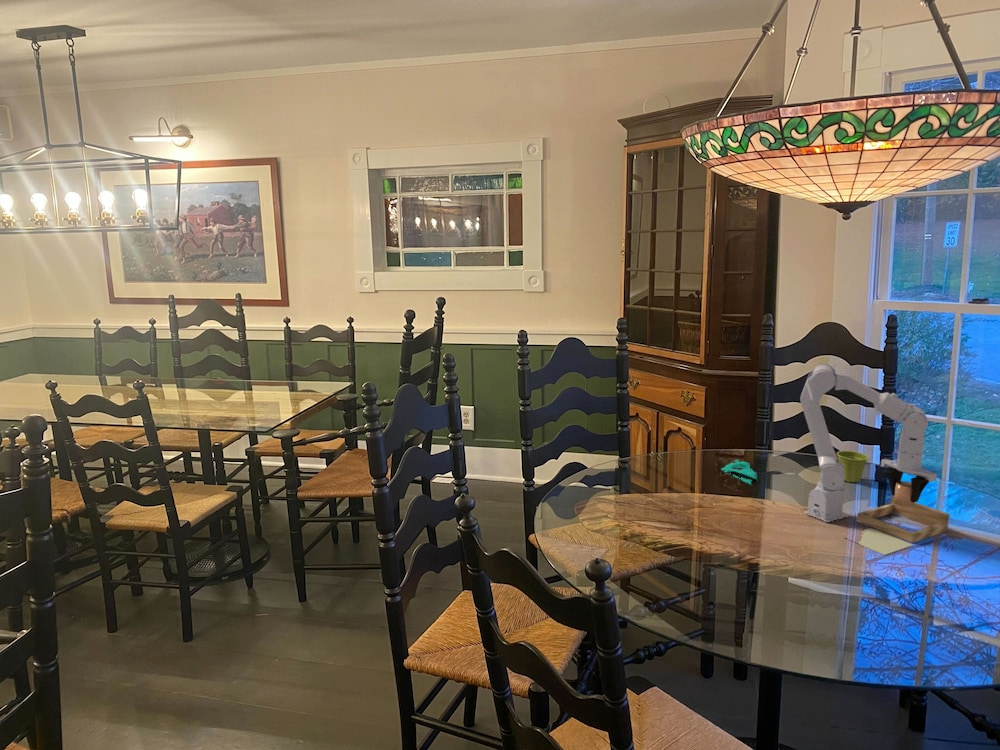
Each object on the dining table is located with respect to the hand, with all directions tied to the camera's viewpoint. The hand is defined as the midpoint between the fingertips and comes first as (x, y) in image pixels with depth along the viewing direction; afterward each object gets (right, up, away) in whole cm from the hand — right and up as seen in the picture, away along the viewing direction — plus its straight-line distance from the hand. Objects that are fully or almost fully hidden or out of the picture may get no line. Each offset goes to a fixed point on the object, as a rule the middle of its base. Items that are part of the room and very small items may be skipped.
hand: (904, 498), depth 193 cm
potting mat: (-12, -10, -8) cm, 17 cm away
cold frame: (0, -8, +2) cm, 8 cm away
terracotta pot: (0, -1, 0) cm, 2 cm away
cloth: (-29, 0, +47) cm, 55 cm away
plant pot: (+4, -1, +38) cm, 38 cm away
